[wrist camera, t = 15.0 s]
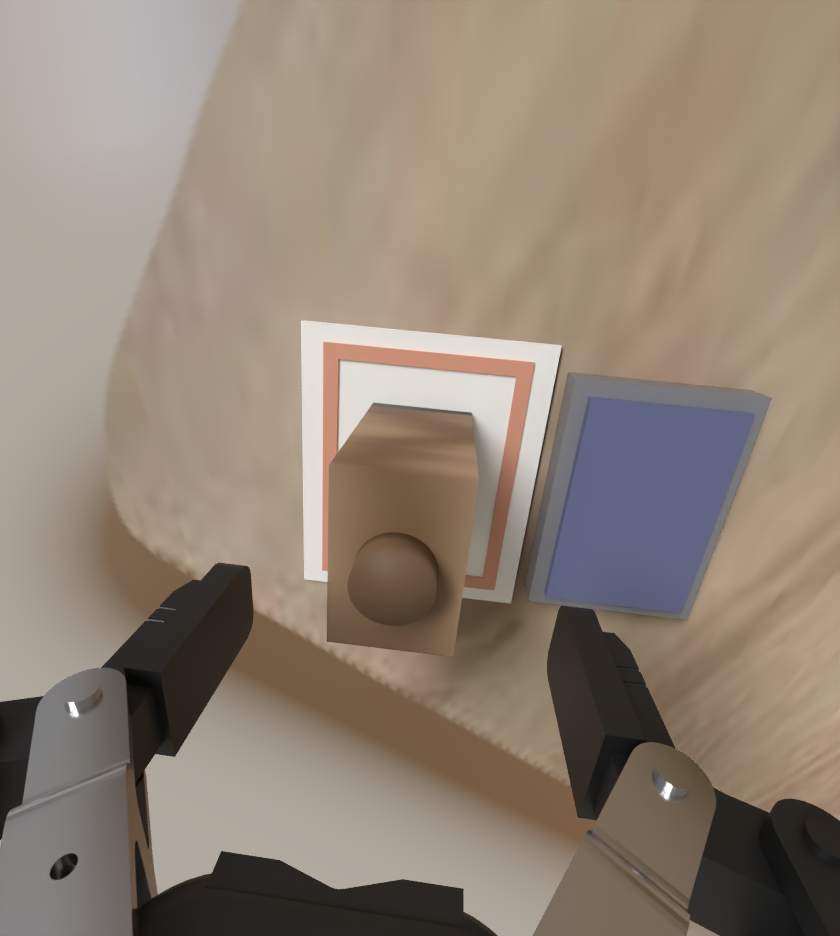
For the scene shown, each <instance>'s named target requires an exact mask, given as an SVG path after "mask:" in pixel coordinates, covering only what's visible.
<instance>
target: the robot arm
mask: <svg viewBox="0 0 840 936" xmlns="http://www.w3.org/2000/svg"><path fill="white" fill-rule="evenodd" d="M252 623H253V600H252V585H251V573H250V569H249V567H247V566H242V565H234V564H225V563H217V564H215V565H214V566H213V568H212V569H211V570H210V571H209V572H208V573H207V574H206V575H205V577H204V578H203V579H202V580H201V581H199V580H192V581H190V582H189V583H187V584H185V585H184V586H182V587H180V588H179V589H177V590H175V591H173V593H172V594H171V595H170V596H169V597H168V598H167V599H166V600H165V601H164V602H163V603H162V604H161V605H160V608H159V609H156V611H155V612H154V613H153V614H152V615H151V616H150V617H149V618H148V621H145V622H144V623H143V624H142V625H141V626H140V627H139V628H138V629H137V631H136V632H135V633H134V634H133V635H132V636H131V637H130V638H129V639H128V640H127V641H126V642H125V643H124V644H123V645H122V646H121V647H120V648H119V649H118V651H117V652H116V653H115V654H114V655H113V656H112V657H111V658H110V659H109V660H108V661H107V662H106V663H105V664H104V665H103V666H102V667H101V668H94V669H89V670H86V671H82V672H79V673H77V674H74V675H72V676H70V677H68V678H66V679H64V680H62V681H61V682H59V683H58V684H56V685H55V686H54V687H53V688H52V689H50V690H49V691H48V692H47V693H46V694H45V695H44V696H41V697H34V698H27V699H19V700H12V701H5V702H0V840H1V839H2V842H1V847H0V936H497V935H496V934H495V933H494V932H493V931H492V930H491V929H490V928H488V927H487V926H485V925H484V924H483V923H481V922H480V921H479V920H477V919H476V918H474V917H472V916H470V915H468V914H467V913H465V912H463V889H461V888H454V887H448V886H442V885H435V884H429V883H423V882H416V881H409V880H403V879H402V880H396V881H390V882H384V883H378V884H372V885H366V886H360V887H353V888H348V889H334V888H331V887H329V886H327V885H325V884H323V883H322V882H320V881H318V880H316V879H314V878H312V877H310V876H308V875H306V874H305V873H303V872H301V871H299V870H297V869H295V868H293V867H291V866H289V865H288V864H286V863H284V862H282V861H280V860H274V859H268V858H262V857H256V856H249V855H242V854H236V853H230V852H223V851H222V852H221V853H220V856H219V858H218V861H217V863H216V865H215V867H214V870H213V872H212V874H207V875H203V876H199V877H196V878H193V879H189V880H187V881H184V882H182V883H180V884H177V885H175V886H173V887H171V888H169V889H167V890H165V891H164V892H162V893H160V894H159V895H158V893H157V886H156V879H155V873H154V864H153V854H152V843H151V831H150V817H149V805H148V792H147V779H146V773H145V768H146V767H147V765H148V764H149V762H150V761H151V759H152V758H153V756H154V755H155V754H160V755H167V756H173V757H174V756H176V754H177V752H178V751H179V749H180V747H181V746H182V744H183V743H184V741H185V739H186V738H187V736H188V734H189V733H190V731H191V729H192V728H193V726H194V724H195V723H196V721H197V720H198V718H199V716H200V715H201V713H202V712H203V710H204V708H205V707H206V705H207V703H208V702H209V700H210V698H211V697H212V695H213V694H214V692H215V690H216V689H217V687H218V685H219V684H220V682H221V680H222V679H223V677H224V676H225V674H226V672H227V671H228V669H229V667H230V666H231V664H232V662H233V661H234V659H235V658H236V656H237V654H238V653H239V651H240V649H241V648H242V646H243V645H244V643H245V641H246V640H247V638H248V636H249V633H250V631H251V627H252ZM547 674H548V681H549V685H550V690H551V695H552V699H553V704H554V709H555V713H556V718H557V722H558V727H559V732H560V736H561V741H562V746H563V750H564V755H565V760H566V764H567V769H568V774H569V778H570V783H571V787H572V792H573V797H574V801H575V806H576V810H577V815H578V817H579V818H586V819H592V820H596V823H595V825H594V827H593V828H592V830H591V831H590V830H589V831H588V832H587V834H586V835H585V837H584V839H583V840H582V842H581V844H580V846H579V848H578V850H577V852H576V854H575V856H574V858H573V859H572V861H571V863H570V865H569V867H568V869H567V871H566V873H565V875H564V877H563V879H562V880H561V882H560V884H559V886H558V888H557V890H556V892H555V894H554V896H553V898H552V900H551V902H550V903H549V905H548V907H547V909H546V911H545V913H544V915H543V917H542V919H541V921H540V923H539V924H538V926H537V928H536V931H535V932H534V934H533V936H686V935H687V931H688V926H689V922H690V920H691V921H693V922H695V923H697V924H699V925H701V926H703V927H704V928H706V929H708V930H710V931H712V932H714V933H716V934H718V935H720V936H840V821H839V820H838V819H836V818H835V817H833V816H832V815H831V814H829V813H827V812H826V811H824V810H822V809H820V808H818V807H816V806H814V805H812V804H810V803H807V802H804V801H800V800H796V799H783V800H780V801H778V802H777V803H776V804H775V805H774V807H773V808H772V810H771V812H770V813H768V812H766V811H764V810H761V809H759V808H757V807H754V806H752V805H750V804H747V803H745V802H743V801H740V800H738V799H736V798H733V797H731V796H729V795H726V794H724V793H722V792H720V791H718V790H717V789H715V788H713V786H712V784H711V782H710V781H709V779H708V777H707V776H706V774H705V773H704V772H703V771H702V769H701V768H700V767H699V766H698V765H697V764H696V763H695V762H694V761H692V760H691V759H690V758H689V757H688V756H686V755H685V754H683V753H682V752H680V751H678V750H676V749H675V747H674V744H673V742H672V740H671V738H670V736H669V734H668V731H667V729H666V727H665V725H664V723H663V720H662V718H661V716H660V714H659V712H658V710H657V707H656V705H655V703H654V701H653V699H652V696H651V694H650V692H649V690H648V688H646V683H645V681H644V679H643V677H642V675H641V672H639V668H638V666H637V664H636V662H635V659H634V657H633V655H632V653H631V651H630V649H629V648H628V647H627V646H626V645H625V644H624V643H623V642H622V641H621V640H620V639H619V638H618V637H617V636H616V635H615V633H608V632H602V629H601V627H600V624H599V622H598V619H597V617H596V614H595V612H594V611H593V610H592V609H586V608H577V607H569V606H561V607H560V609H559V611H558V615H557V619H556V623H555V627H554V631H553V635H552V640H551V644H550V648H549V652H548V659H547Z"/></svg>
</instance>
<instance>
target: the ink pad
mask: <svg viewBox="0 0 840 936" xmlns="http://www.w3.org/2000/svg"><path fill="white" fill-rule="evenodd" d="M771 399H772V398H771V397H768V396H765V395H762V394H760V393H757V392H754V391H750V390H740V389H730V388H719V387H709V386H699V385H689V384H679V383H668V382H658V381H648V380H638V379H628V378H618V377H607V376H597V375H587V374H577V373H568V377H567V382H566V386H565V391H564V396H563V401H562V406H561V411H560V415H559V420H558V425H557V430H556V435H555V440H554V444H553V449H552V454H551V459H550V464H549V469H548V473H547V478H546V483H545V488H544V493H543V498H542V502H541V507H540V512H539V517H538V522H537V526H536V531H535V536H534V541H533V546H532V551H531V555H530V560H529V565H528V570H527V575H526V580H525V584H524V585H525V590H526V594H527V598H528V601H531V602H540V603H548V604H557V605H565V606H574V607H582V608H591V609H599V610H608V611H616V612H625V613H633V614H642V615H650V616H659V617H668V618H676V619H685V620H687V618H688V616H689V613H690V610H691V608H692V605H693V603H694V600H695V597H696V595H697V592H698V590H699V587H700V584H701V582H702V579H703V576H704V574H705V571H706V569H707V566H708V563H709V561H710V558H711V556H712V553H713V550H714V548H715V545H716V542H717V540H718V537H719V535H720V532H721V529H722V527H723V524H724V522H725V519H726V516H727V514H728V511H729V508H730V506H731V503H732V501H733V498H734V495H735V493H736V490H737V488H738V485H739V482H740V480H741V477H742V474H743V472H744V469H745V467H746V464H747V461H748V459H749V456H750V454H751V451H752V448H753V446H754V443H755V440H756V438H757V435H758V433H759V430H760V427H761V425H762V422H763V420H764V417H765V414H766V412H767V409H768V406H769V404H770V401H771Z"/></svg>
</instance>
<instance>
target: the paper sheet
mask: <svg viewBox="0 0 840 936" xmlns="http://www.w3.org/2000/svg"><path fill="white" fill-rule="evenodd" d="M561 347H562V346H561V345H554V344H544V343H533V342H523V341H513V340H502V339H492V338H481V337H471V336H460V335H450V334H440V333H429V332H419V331H408V330H398V329H388V328H377V327H367V326H356V325H346V324H336V323H325V322H315V321H304V320H302V321H301V355H302V434H303V514H304V579H307V580H315V581H324V582H328V497H329V464H330V463H331V461H332V460H333V459H334V457H335V456H336V454H337V453H338V452H339V450H340V449H341V447H342V446H343V445H344V443H345V442H346V440H347V439H348V438H349V436H350V435H351V433H352V432H353V431H354V429H355V428H356V426H357V425H358V423H359V422H360V421H361V419H362V418H363V416H364V415H365V414H366V412H367V411H368V409H369V408H370V407H371V405H372V404H373V402H374V403H383V404H393V405H403V406H413V407H422V408H432V409H442V410H451V411H461V412H471V413H472V422H473V431H474V440H475V448H476V457H477V466H478V474H479V487H478V494H477V501H476V507H475V514H474V521H473V528H472V535H471V541H470V548H469V555H468V562H467V568H466V575H465V582H464V589H463V596H462V598H468V599H477V600H485V601H494V602H502V603H511V600H512V595H513V590H514V585H515V580H516V575H517V570H518V565H519V560H520V555H521V550H522V545H523V540H524V535H525V529H526V524H527V519H528V514H529V509H530V504H531V499H532V494H533V489H534V484H535V479H536V474H537V469H538V463H539V458H540V453H541V448H542V443H543V438H544V433H545V428H546V423H547V418H548V413H549V408H550V403H551V398H552V392H553V387H554V382H555V377H556V372H557V367H558V362H559V357H560V352H561Z"/></svg>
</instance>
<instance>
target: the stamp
mask: <svg viewBox="0 0 840 936" xmlns="http://www.w3.org/2000/svg"><path fill="white" fill-rule="evenodd" d="M478 487H479V474H478V466H477V457H476V448H475V440H474V431H473V422H472V413H471V412H461V411H451V410H442V409H432V408H422V407H413V406H403V405H393V404H383V403H374V402H373V404H372V405H371V407H370V408H369V409H368V411H367V412H366V414H365V415H364V416H363V418H362V419H361V421H360V422H359V423H358V425H357V426H356V428H355V429H354V431H353V432H352V433H351V435H350V436H349V438H348V439H347V440H346V442H345V443H344V445H343V446H342V447H341V449H340V450H339V452H338V453H337V454H336V456H335V457H334V459H333V460H332V461H331V463H330V464H329V497H328V586H327V642H336V643H344V644H352V645H360V646H368V647H376V648H384V649H392V650H401V651H409V652H417V653H425V654H433V655H441V656H449V657H454V650H455V643H456V636H457V630H458V623H459V616H460V609H461V602H462V596H463V589H464V582H465V575H466V568H467V562H468V555H469V548H470V541H471V535H472V528H473V521H474V514H475V507H476V501H477V494H478Z"/></svg>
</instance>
